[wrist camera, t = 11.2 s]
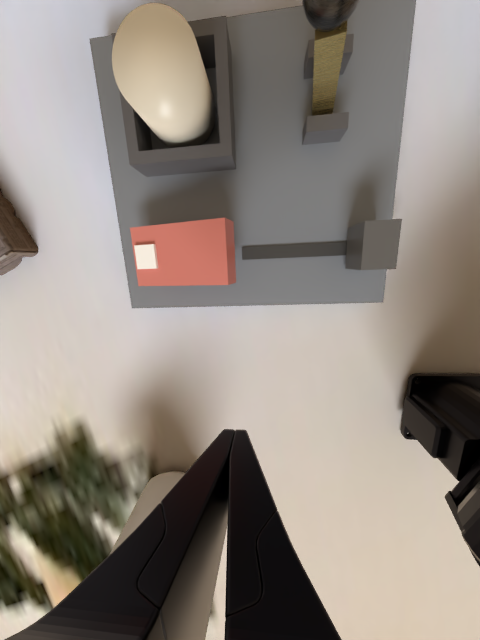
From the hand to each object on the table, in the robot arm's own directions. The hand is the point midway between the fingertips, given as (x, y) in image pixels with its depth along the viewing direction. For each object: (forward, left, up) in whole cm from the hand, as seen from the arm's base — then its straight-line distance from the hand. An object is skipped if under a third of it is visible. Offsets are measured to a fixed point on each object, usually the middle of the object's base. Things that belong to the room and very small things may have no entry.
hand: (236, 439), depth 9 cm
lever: (-5, -16, -11) cm, 20 cm away
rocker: (+4, -7, -10) cm, 13 cm away
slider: (-8, -7, -11) cm, 15 cm away
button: (+4, -16, -10) cm, 19 cm away
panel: (0, -12, -13) cm, 18 cm away
